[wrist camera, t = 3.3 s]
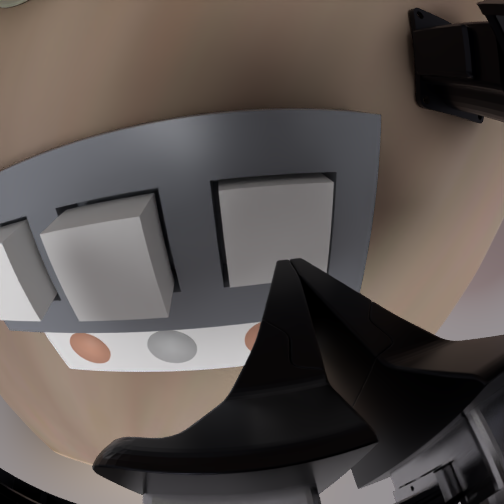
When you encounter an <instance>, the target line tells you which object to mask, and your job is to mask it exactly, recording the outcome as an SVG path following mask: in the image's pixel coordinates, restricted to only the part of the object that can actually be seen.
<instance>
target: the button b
mask: <svg viewBox="0 0 504 504" xmlns="http://www.w3.org/2000/svg"><path fill="white" fill-rule="evenodd" d="M218 186H219V200H220V209H221V217H222V226H223V235H224V243H225V251H226V259H227V267H228V275H229V283H230V288H231V287H240V286H249V285H258V284H266V283H271V282H272V278H273V274H274V270H275V266H276V262H277V261H278V260H286V259H288V260H290V259H295V258H302V259H304V260H306V261H307V262H309V263H311V264H312V265H314V266H316V267H317V268H319V269H321V270H322V271H324V272H326V273H327V264H328V255H329V244H330V233H331V220H332V206H333V189H334V182H333V181H331V180H330V179H329V178H327V177H326V176H325V175H323V174H322V173H321V172H318V173H296V174H279V175H264V176H252V177H241V178H230V179H221V180H218Z"/></svg>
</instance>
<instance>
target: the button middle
mask: <svg viewBox="0 0 504 504" xmlns="http://www.w3.org/2000/svg"><path fill="white" fill-rule="evenodd" d="M40 236H41V239H42V242H43V244H44V247H45V250H46V252H47V255H48V257H49V259H50V262H51V264H52V267H53V269H54V271H55V273H56V276H57V278H58V280H59V282H60V284H61V286H62V289H63V291H64V293H65V295H66V297H67V299H68V301H69V303H70V305H71V307H72V308H73V310H74V312H75V314H76V316H77V318H78V320H79V321H113V320H135V319H152V318H167V317H169V311H170V305H171V299H172V294H173V288H174V283H175V282H174V278H173V274H172V270H171V266H170V262H169V258H168V254H167V250H166V246H165V241H164V237H163V233H162V228H161V223H160V219H159V214H158V209H157V204H156V199H155V194H154V193H150V194H144V195H138V196H132V197H126V198H121V199H115V200H110V201H105V202H100V203H95V204H90V205H85V206H81V207H76V208H72V209H67V210H65V211H64V212H63V213H62V214H61V215H60V216H59V217H57V218H56V219H55V220H54V221H53V222H52V223H51V224H50V225H49V226H48V227H47V228H46V229H45V230H44V231H43V232H42V233H41V234H40Z"/></svg>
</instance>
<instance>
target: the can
mask: <svg viewBox="0 0 504 504" xmlns="http://www.w3.org/2000/svg"><path fill="white" fill-rule="evenodd" d="M26 1H28V0H0V7H3V8H8V7H13V6H16V5H19V4H22V3H24V2H26Z"/></svg>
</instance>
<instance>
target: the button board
mask: <svg viewBox="0 0 504 504" xmlns="http://www.w3.org/2000/svg"><path fill="white" fill-rule="evenodd" d="M380 135H381V115H379V114H373V113H366V112H359V111H351V110H338V109H316V108H271V109H249V110H235V111H223V112H213V113H204V114H196V115H189V116H182V117H176V118H170V119H164V120H158V121H153V122H148V123H143V124H138V125H134V126H129V127H125V128H121V129H117V130H113V131H109V132H105V133H101V134H98V135H94V136H91V137H87V138H84V139H81V140H77V141H74V142H71V143H68V144H65V145H62V146H59V147H56V148H54V149H51V150H48V151H45V152H43V153H40V154H38V155H35V156H33V157H30V158H28V159H25V160H23V161H21V162H18V163H16V164H14V165H11V166H9V167H7V168H5V169H3V170H1V171H0V227H2V226H6V225H9V224H12V223H16V222H20V221H23V220H28V223H29V226H30V228H31V231H32V234H33V237H34V239H35V242H36V245H37V247H38V250H39V252H40V255H41V257H42V260H43V262H44V264H45V267H46V269H47V271H48V273H49V276H50V278H51V280H52V282H53V284H54V286H55V288H56V290H57V292H58V293H57V295H56V296H55V298H54V300H53V301H52V303H51V305H50V306H49V308H48V310H47V312H46V313H45V315H44V317H43V319H42V320H41V321H9V320H4V322H5V324H6V325H7V327H8V328H9V330H13V331H29V332H51V333H127V332H151V331H169V330H184V329H196V328H208V327H219V326H228V325H238V324H246V323H255V322H261V321H262V317H263V313H264V309H265V305H266V301H267V297H268V294H269V290H270V286H271V283H266V284H258V285H249V286H240V287H231V288H230V283H229V275H228V267H227V259H226V251H225V243H224V235H223V226H222V217H221V209H220V200H219V186H218V180H221V179H230V178H241V177H252V176H264V175H279V174H296V173H318V172H321V173H322V174H323V175H325V176H326V177H327V178H329V179H330V180H331V181H333V182H334V189H333V206H332V220H331V233H330V244H329V255H328V264H327V274H329V275H331V276H332V277H334V278H336V279H337V280H339V281H340V282H342V283H344V284H345V285H347V286H349V287H350V288H352V289H354V290H355V291H357V292H358V293H360V289H361V284H362V279H363V275H364V270H365V264H366V259H367V253H368V248H369V242H370V235H371V229H372V222H373V215H374V207H375V199H376V190H377V180H378V168H379V154H380ZM150 193H154V194H155V199H156V204H157V209H158V214H159V219H160V223H161V228H162V233H163V237H164V241H165V246H166V250H167V254H168V258H169V262H170V266H171V270H172V274H173V278H174V282H175V283H174V288H173V294H172V299H171V305H170V311H169V317H167V318H152V319H135V320H113V321H79V320H78V318H77V316H76V314H75V312H74V310H73V308H72V307H71V305H70V303H69V301H68V299H67V297H66V295H65V293H64V291H63V289H62V286H61V284H60V282H59V280H58V278H57V276H56V273H55V271H54V269H53V267H52V264H51V262H50V259H49V257H48V255H47V252H46V250H45V247H44V244H43V242H42V239H41V236H40V234H41V233H42V232H43V231H44V230H45V229H46V228H47V227H48V226H49V225H50V224H51V223H52V222H53V221H54V220H55V219H56V218H57V217H59V216H60V215H61V214H62V213H63V212H64V211H65V210H67V209H72V208H76V207H81V206H85V205H90V204H95V203H100V202H105V201H110V200H115V199H121V198H126V197H132V196H138V195H144V194H150Z"/></svg>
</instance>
